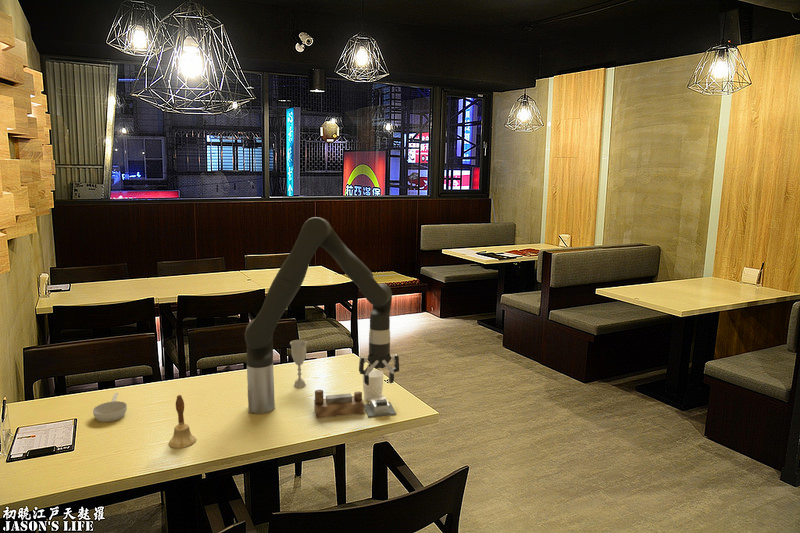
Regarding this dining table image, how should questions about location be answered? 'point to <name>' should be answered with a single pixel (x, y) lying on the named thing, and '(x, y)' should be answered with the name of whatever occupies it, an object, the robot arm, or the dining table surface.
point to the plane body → (338, 404)
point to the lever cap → (379, 405)
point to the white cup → (373, 384)
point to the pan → (110, 410)
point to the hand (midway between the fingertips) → (378, 383)
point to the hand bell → (181, 429)
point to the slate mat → (371, 414)
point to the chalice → (299, 359)
